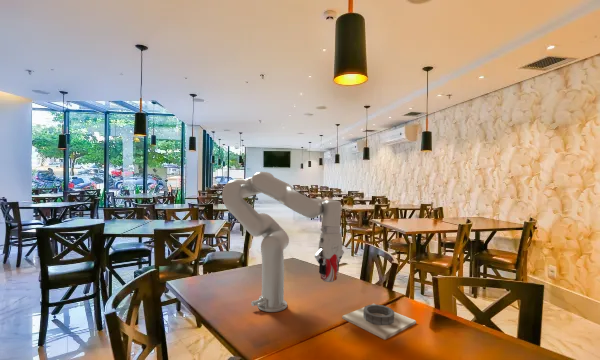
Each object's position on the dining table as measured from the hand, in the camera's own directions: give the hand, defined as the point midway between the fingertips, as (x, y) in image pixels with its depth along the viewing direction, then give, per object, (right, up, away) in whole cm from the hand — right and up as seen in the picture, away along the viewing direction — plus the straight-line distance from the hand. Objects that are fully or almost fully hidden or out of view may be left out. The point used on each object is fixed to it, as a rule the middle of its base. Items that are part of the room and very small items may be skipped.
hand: (328, 272), depth 124 cm
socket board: (+19, -17, -7) cm, 26 cm away
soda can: (0, -3, 0) cm, 3 cm away
